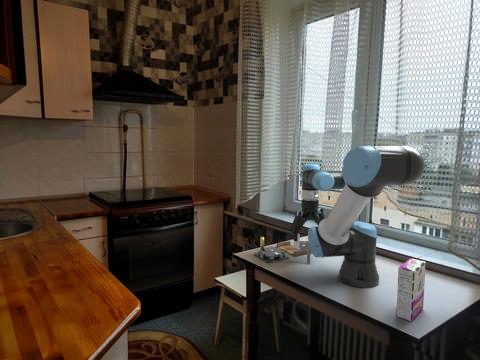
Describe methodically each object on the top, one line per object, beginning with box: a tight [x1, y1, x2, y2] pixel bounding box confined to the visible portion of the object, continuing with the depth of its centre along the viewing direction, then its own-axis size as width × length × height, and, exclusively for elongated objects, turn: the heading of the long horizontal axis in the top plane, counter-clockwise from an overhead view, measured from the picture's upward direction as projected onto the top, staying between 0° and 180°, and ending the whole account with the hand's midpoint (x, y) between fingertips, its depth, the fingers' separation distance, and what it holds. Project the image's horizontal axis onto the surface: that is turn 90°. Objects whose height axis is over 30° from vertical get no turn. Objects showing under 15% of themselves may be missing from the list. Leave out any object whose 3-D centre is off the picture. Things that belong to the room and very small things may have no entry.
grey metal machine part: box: [257, 236, 286, 259], centre depth 155 cm, size 13×13×8 cm
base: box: [253, 252, 290, 264], centre depth 156 cm, size 12×12×1 cm
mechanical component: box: [299, 240, 313, 265], centre depth 147 cm, size 3×10×10 cm, turn 89°
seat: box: [276, 240, 307, 258], centre depth 164 cm, size 15×8×2 cm, turn 29°
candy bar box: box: [396, 258, 427, 322], centre depth 105 cm, size 11×5×16 cm, turn 135°
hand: (308, 245), depth 147 cm, fingers open, 13 cm apart
